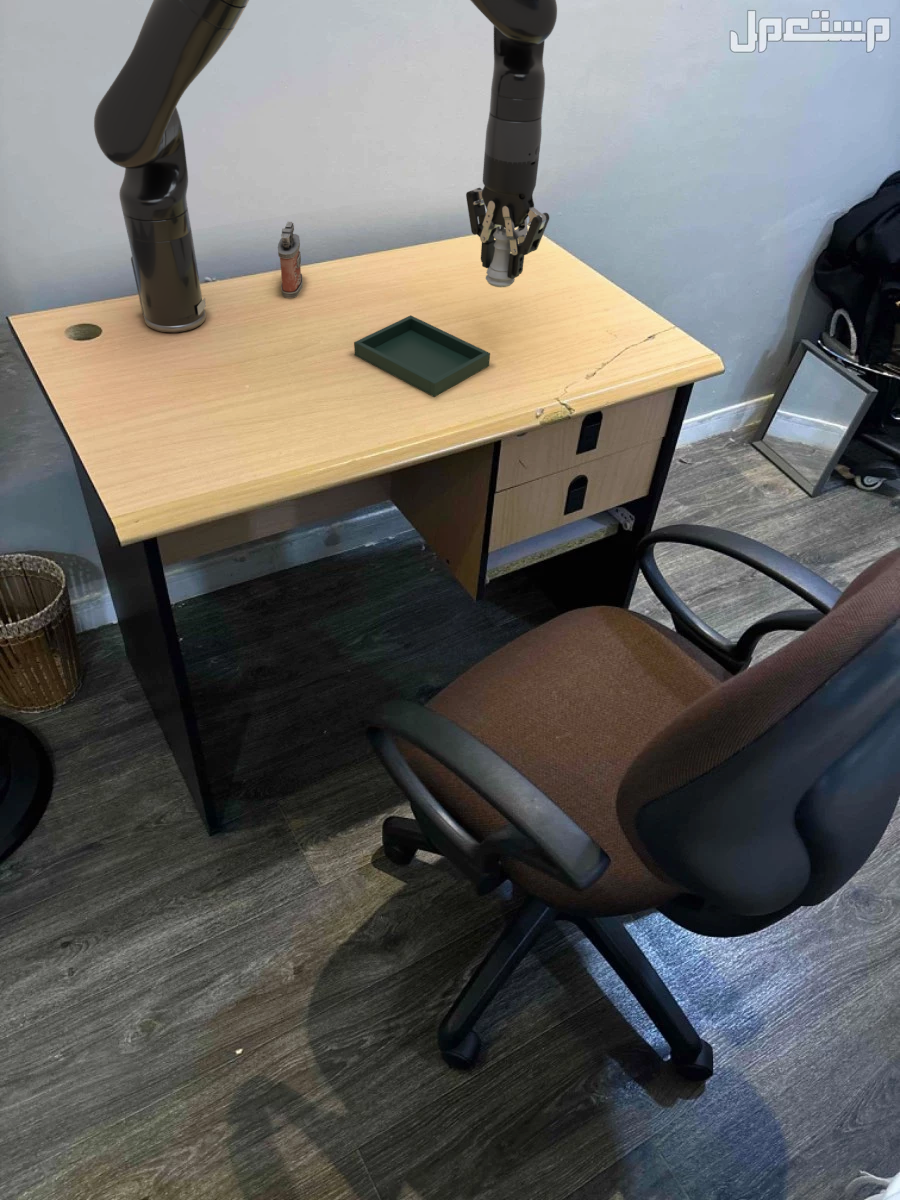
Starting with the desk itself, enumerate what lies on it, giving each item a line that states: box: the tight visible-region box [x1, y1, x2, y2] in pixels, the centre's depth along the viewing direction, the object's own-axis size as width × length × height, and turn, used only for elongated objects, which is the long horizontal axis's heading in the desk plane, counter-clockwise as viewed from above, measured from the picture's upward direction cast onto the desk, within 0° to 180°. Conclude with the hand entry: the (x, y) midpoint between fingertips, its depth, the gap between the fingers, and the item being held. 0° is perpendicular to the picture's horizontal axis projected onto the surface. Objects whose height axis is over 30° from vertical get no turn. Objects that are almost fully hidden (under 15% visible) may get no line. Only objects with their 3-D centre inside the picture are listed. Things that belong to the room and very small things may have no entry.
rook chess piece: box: [485, 225, 516, 288], centre depth 130 cm, size 4×4×8 cm
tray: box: [353, 315, 491, 398], centre depth 134 cm, size 17×13×2 cm
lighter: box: [277, 221, 304, 299], centre depth 146 cm, size 8×3×10 cm, turn 179°
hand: (500, 271), depth 132 cm, fingers closed on rook chess piece, 4 cm apart
